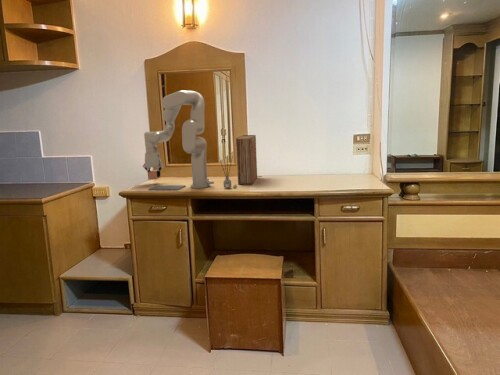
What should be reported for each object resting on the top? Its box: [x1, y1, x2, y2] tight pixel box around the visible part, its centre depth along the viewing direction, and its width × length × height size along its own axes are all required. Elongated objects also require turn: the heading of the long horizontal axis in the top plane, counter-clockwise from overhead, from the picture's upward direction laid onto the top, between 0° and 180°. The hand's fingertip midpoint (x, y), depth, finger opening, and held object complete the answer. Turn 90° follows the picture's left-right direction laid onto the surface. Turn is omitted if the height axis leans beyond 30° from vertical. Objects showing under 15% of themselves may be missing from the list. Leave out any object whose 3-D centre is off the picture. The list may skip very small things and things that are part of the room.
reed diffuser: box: [218, 155, 238, 189], centre depth 240 cm, size 10×7×20 cm
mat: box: [148, 184, 186, 191], centre depth 248 cm, size 20×12×1 cm, turn 77°
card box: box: [147, 169, 161, 181], centre depth 264 cm, size 6×8×5 cm, turn 173°
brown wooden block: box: [235, 134, 258, 186], centre depth 259 cm, size 25×9×30 cm, turn 171°
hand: (154, 176), depth 264 cm, fingers closed on card box, 5 cm apart
